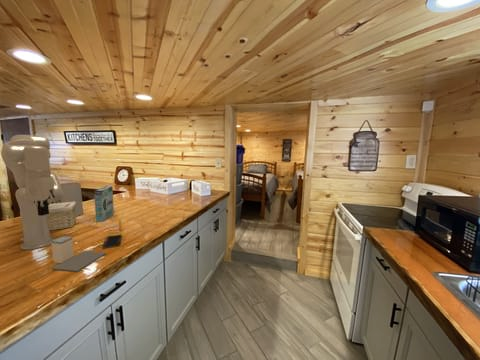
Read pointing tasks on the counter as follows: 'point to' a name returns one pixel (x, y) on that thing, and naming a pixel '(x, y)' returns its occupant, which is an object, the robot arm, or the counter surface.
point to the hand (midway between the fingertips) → (43, 214)
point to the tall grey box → (73, 196)
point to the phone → (112, 241)
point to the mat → (79, 261)
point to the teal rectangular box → (103, 203)
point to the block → (62, 249)
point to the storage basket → (61, 215)
